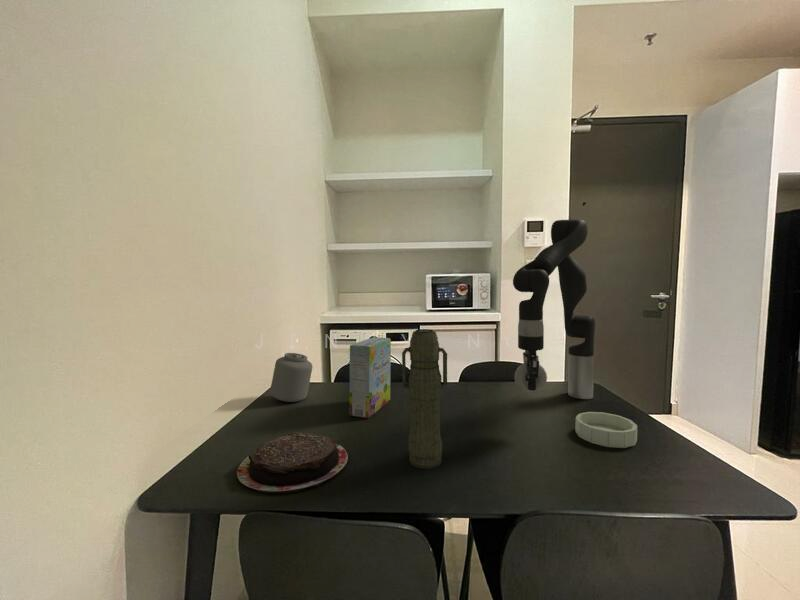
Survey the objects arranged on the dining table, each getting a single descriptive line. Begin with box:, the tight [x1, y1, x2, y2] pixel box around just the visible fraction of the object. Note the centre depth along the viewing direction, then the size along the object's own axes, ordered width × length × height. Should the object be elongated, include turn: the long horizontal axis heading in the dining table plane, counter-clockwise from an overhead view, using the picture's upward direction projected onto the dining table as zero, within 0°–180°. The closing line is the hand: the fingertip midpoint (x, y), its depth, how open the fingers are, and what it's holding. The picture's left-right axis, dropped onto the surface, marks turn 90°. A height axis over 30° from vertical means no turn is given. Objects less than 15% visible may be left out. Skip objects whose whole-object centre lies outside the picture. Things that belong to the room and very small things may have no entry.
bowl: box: [574, 411, 638, 449], centre depth 112 cm, size 16×16×4 cm
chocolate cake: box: [236, 432, 349, 494], centre depth 97 cm, size 28×28×7 cm
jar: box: [269, 338, 313, 403], centre depth 150 cm, size 19×15×25 cm
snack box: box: [348, 336, 392, 419], centre depth 139 cm, size 22×9×26 cm, turn 161°
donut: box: [513, 362, 548, 394], centre depth 115 cm, size 10×4×10 cm, turn 88°
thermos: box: [401, 328, 448, 469], centre depth 98 cm, size 9×12×35 cm
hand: (530, 387), depth 116 cm, fingers closed on donut, 3 cm apart
